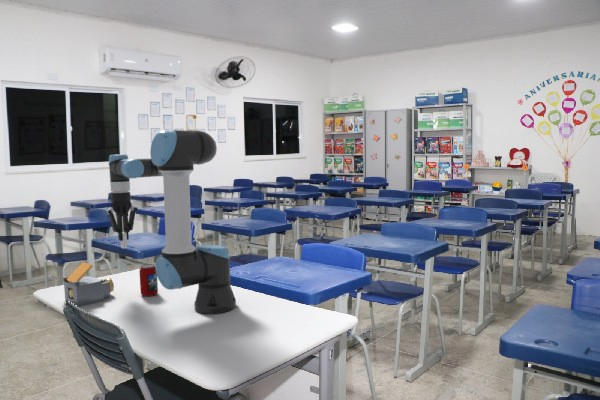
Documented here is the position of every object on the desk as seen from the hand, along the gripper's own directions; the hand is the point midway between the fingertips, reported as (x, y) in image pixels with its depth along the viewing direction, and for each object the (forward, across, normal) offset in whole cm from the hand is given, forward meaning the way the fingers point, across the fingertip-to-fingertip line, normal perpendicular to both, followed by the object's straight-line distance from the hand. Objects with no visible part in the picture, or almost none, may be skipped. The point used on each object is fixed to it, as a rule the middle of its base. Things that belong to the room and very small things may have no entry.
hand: (124, 247), depth 203 cm
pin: (+17, +15, 0) cm, 23 cm away
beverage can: (+19, -4, +13) cm, 23 cm away
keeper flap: (+7, +19, 0) cm, 20 cm away
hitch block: (+18, +16, 0) cm, 24 cm away
